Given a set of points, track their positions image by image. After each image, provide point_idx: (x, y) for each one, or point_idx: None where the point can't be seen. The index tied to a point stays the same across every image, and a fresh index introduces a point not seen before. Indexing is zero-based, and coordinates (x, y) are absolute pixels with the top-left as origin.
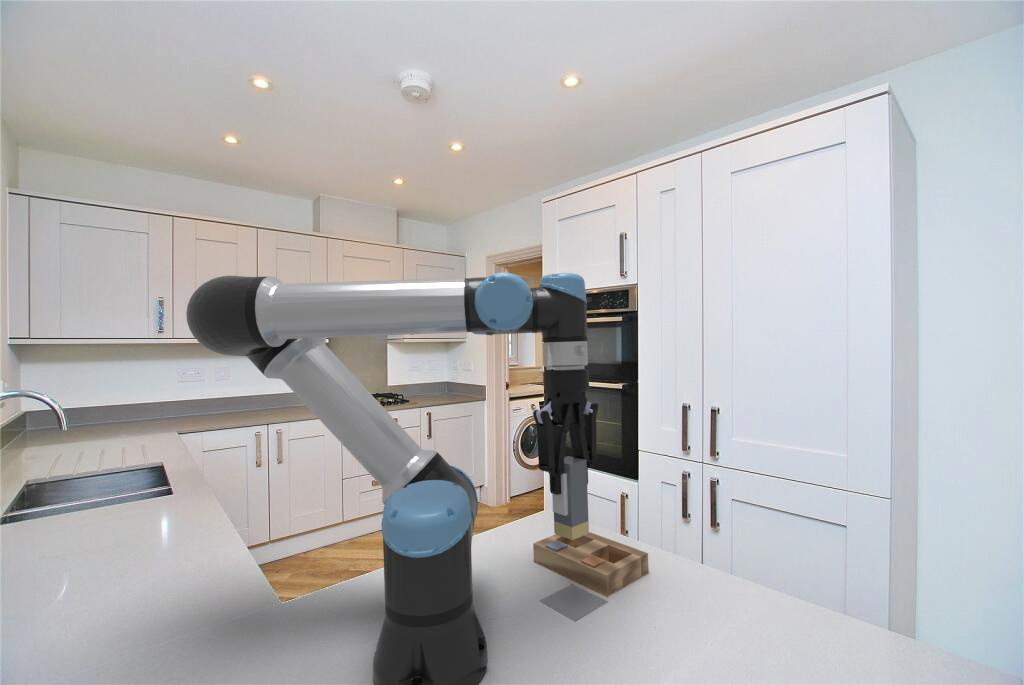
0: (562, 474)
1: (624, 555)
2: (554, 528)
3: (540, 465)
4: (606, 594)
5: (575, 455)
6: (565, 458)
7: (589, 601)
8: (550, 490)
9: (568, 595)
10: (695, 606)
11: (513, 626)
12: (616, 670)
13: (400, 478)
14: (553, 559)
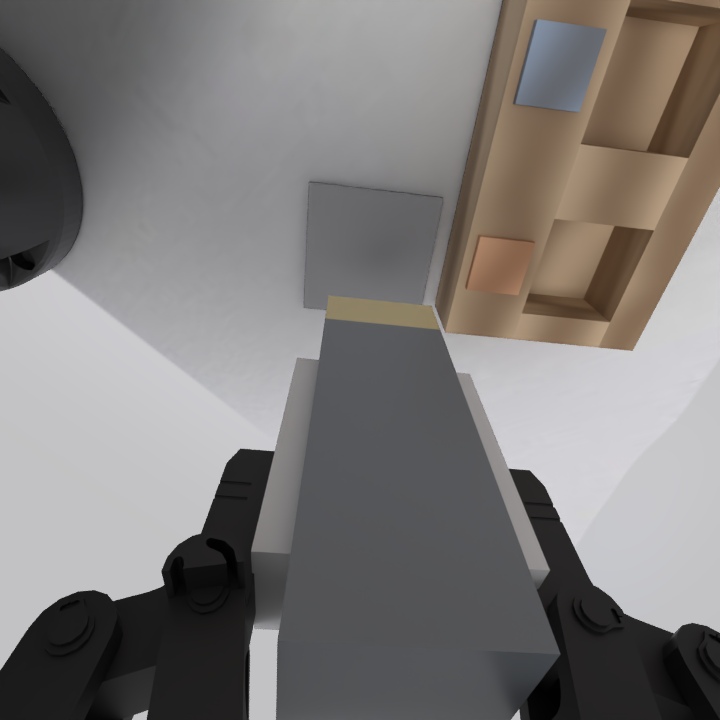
0: (258, 620)
1: (616, 288)
2: (328, 304)
3: (21, 666)
4: (436, 308)
5: (563, 712)
6: (442, 674)
7: (393, 286)
8: (227, 465)
9: (383, 230)
10: (511, 430)
11: (192, 196)
12: (257, 414)
13: None
14: (496, 90)
